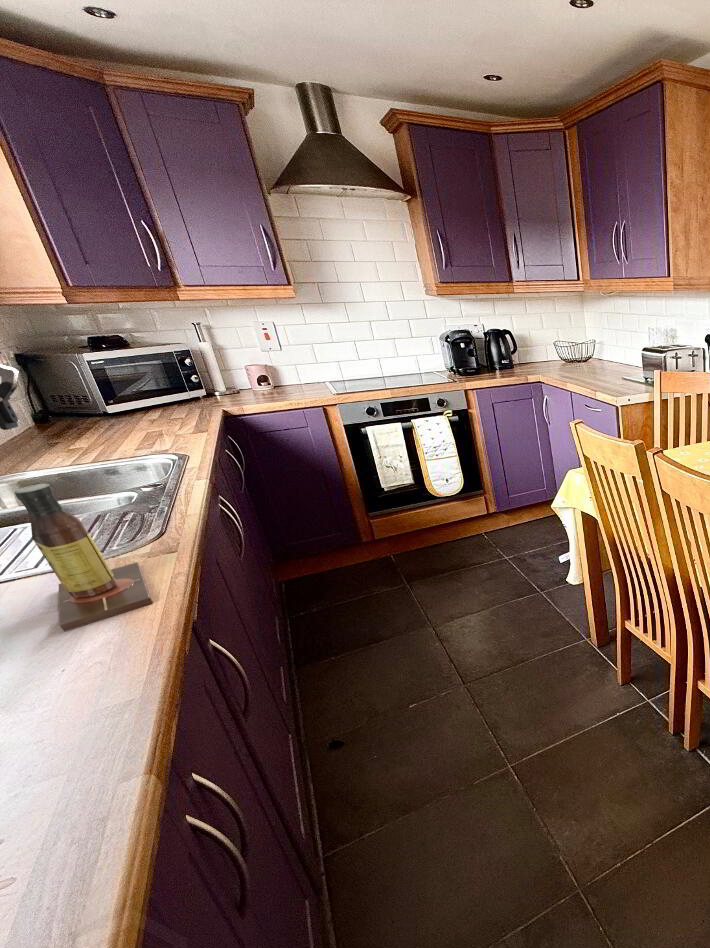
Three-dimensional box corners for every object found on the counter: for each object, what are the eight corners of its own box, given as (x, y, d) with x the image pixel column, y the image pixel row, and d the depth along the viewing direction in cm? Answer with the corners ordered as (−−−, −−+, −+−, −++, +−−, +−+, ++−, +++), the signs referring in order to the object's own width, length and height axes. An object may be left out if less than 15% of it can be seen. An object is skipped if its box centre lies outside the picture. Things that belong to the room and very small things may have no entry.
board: (61, 589, 108) (58, 583, 107) (140, 567, 115) (137, 561, 114) (63, 631, 94) (59, 624, 93) (152, 603, 101) (149, 597, 100)
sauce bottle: (84, 586, 105) (23, 483, 97) (126, 580, 107) (69, 477, 99) (60, 604, 100) (-7, 496, 91) (105, 596, 101) (43, 489, 93)
